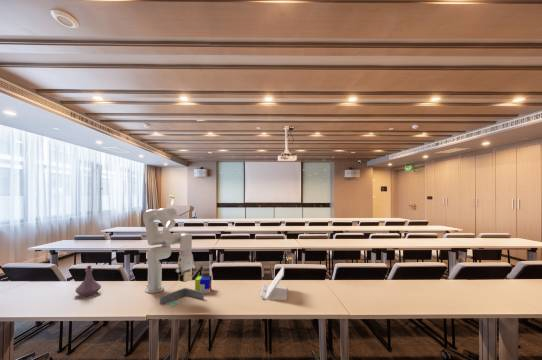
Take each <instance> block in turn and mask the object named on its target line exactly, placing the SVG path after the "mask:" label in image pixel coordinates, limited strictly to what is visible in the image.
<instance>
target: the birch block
mask: <svg viewBox="0 0 542 360" xmlns="http://www.w3.org/2000/svg"><path fill="white" fill-rule="evenodd" d="M181 272H182V271H181ZM192 280H193V270H192V271H190V270H186V271H184V272H183V281H181V282H183V283H188V282H190V281H192Z"/></svg>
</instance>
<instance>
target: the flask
mask: <svg viewBox="0 0 542 360" xmlns="http://www.w3.org/2000/svg"><path fill="white" fill-rule="evenodd" d="M84 271H85V277H84V280H82V282H81V283H80V284H79V285H78V286H77V287H76V289H75V293H76V294H78V295H79V296H80V297H83V298H84V297H85V298H86V297H91V296H94V295H96V294H98V292H99V291H100V289H101V288H102V285H101V284H100V283H98V282H97V281H96V280H95V279H94V276H93V271H94V269H93V268H92V265H87V267H86V269H85V270H84Z"/></svg>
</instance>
